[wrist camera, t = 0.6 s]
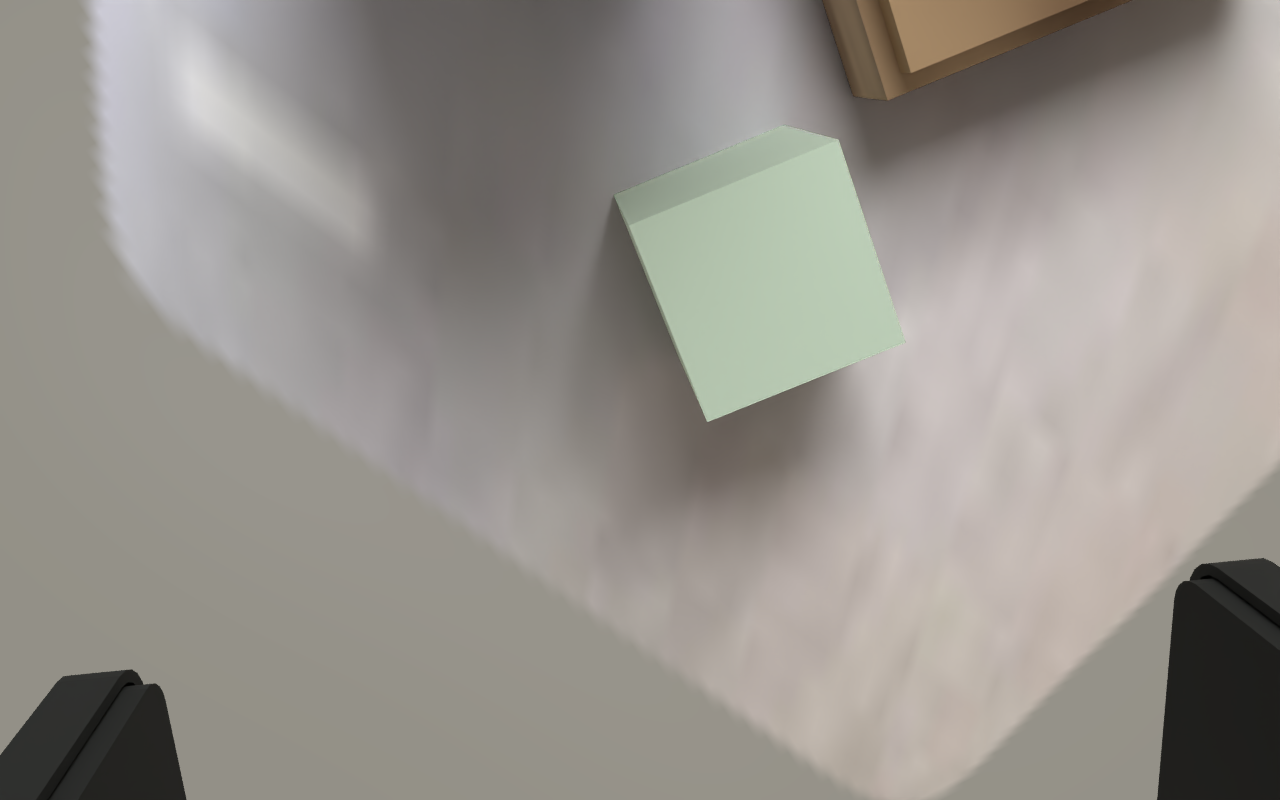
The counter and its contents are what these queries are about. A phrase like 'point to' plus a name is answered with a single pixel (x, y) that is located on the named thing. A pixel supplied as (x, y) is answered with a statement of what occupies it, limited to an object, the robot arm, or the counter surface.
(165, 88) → the counter surface
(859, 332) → the sage block
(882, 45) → the walnut pedestal
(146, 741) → the robot arm
